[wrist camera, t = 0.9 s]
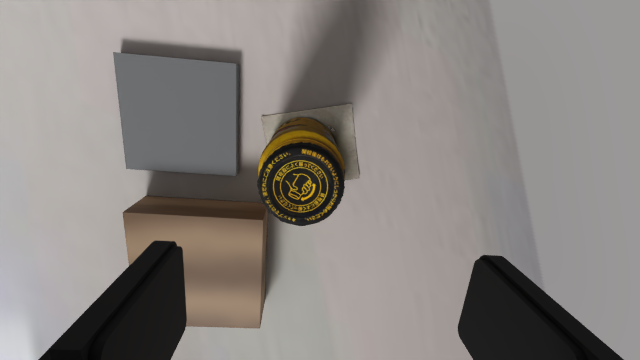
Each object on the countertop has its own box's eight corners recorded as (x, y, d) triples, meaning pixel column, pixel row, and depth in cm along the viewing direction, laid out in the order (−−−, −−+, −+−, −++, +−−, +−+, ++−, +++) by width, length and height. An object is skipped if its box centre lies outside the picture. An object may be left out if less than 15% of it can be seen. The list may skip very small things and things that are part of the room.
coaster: (120, 53, 26) (113, 52, 25) (238, 64, 27) (236, 63, 26) (132, 165, 29) (126, 168, 28) (238, 172, 30) (236, 175, 29)
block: (145, 195, 30) (122, 212, 26) (268, 203, 31) (263, 220, 27) (155, 297, 34) (136, 324, 30) (264, 301, 34) (259, 328, 31)
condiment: (261, 116, 28) (231, 139, 17) (351, 103, 28) (382, 117, 17) (275, 189, 30) (258, 253, 19) (358, 177, 31) (391, 233, 19)
